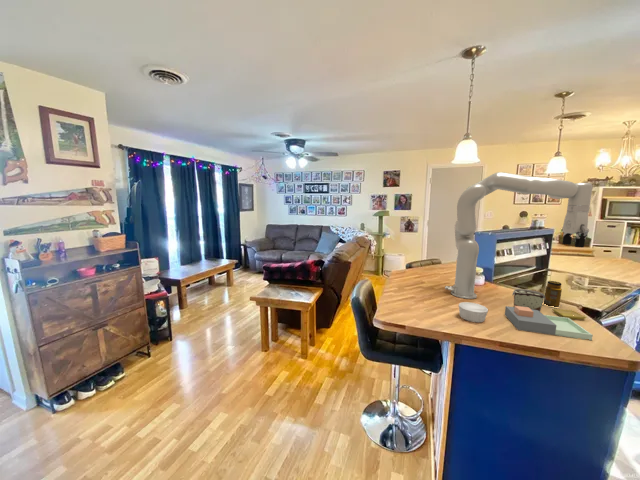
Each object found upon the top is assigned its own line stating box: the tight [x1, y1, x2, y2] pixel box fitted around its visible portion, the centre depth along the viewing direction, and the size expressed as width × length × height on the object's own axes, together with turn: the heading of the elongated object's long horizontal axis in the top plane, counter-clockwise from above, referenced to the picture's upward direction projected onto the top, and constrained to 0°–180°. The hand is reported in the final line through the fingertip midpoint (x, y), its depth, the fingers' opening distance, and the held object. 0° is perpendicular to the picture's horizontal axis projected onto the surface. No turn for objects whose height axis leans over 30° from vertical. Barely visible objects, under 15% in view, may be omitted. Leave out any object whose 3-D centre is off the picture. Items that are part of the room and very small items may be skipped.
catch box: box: [544, 314, 593, 341], centre depth 107 cm, size 11×16×2 cm
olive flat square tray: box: [551, 308, 587, 320], centre depth 120 cm, size 9×9×2 cm
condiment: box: [543, 280, 563, 307], centre depth 132 cm, size 7×8×12 cm
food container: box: [511, 288, 545, 312], centre depth 124 cm, size 12×6×10 cm, turn 71°
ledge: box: [504, 305, 556, 336], centre depth 110 cm, size 12×16×4 cm
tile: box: [513, 306, 534, 317], centre depth 110 cm, size 5×5×2 cm
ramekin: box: [458, 301, 489, 323], centre depth 115 cm, size 11×11×5 cm
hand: (572, 245), depth 127 cm, fingers open, 9 cm apart
